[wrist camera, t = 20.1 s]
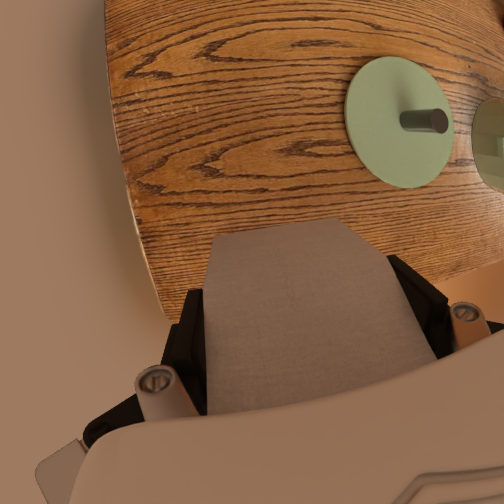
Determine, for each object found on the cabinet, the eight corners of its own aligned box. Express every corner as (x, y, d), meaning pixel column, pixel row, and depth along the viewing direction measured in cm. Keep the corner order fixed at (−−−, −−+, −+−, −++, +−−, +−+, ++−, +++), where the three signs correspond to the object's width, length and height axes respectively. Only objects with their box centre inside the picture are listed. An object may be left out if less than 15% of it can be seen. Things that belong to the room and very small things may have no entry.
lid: (450, 182, 28) (486, 195, 21) (349, 192, 28) (379, 207, 21) (439, 67, 22) (475, 60, 16) (331, 54, 22) (357, 33, 16)
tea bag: (213, 236, 15) (188, 374, 6) (335, 217, 15) (452, 314, 6) (226, 295, 16) (224, 449, 7) (337, 276, 16) (423, 400, 7)
